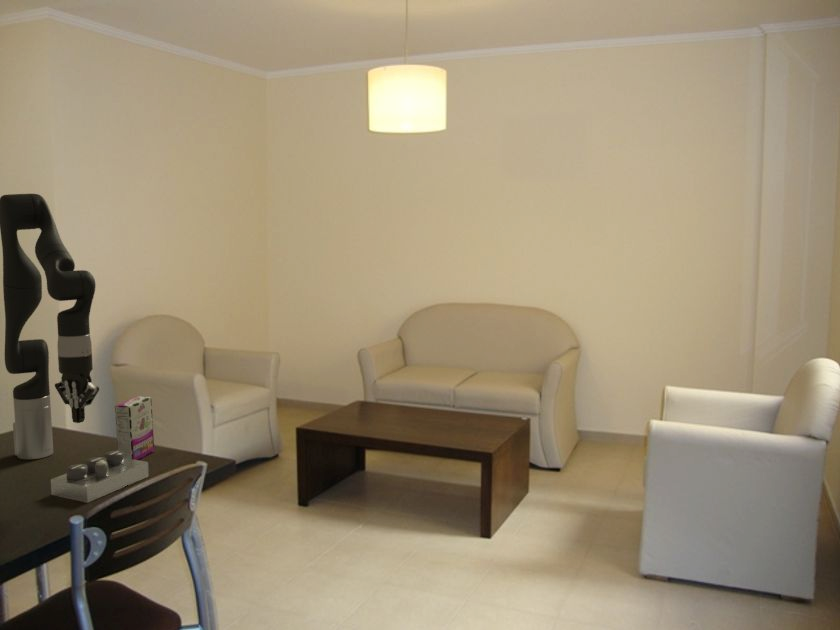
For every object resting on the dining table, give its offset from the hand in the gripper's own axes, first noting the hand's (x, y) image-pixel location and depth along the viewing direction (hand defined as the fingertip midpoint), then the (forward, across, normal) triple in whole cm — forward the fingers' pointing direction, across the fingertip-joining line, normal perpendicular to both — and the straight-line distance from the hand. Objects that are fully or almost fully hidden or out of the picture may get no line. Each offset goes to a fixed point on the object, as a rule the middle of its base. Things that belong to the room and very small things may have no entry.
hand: (78, 421), depth 185 cm
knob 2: (+17, 0, +5) cm, 18 cm away
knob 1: (+17, 0, -1) cm, 17 cm away
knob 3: (+17, 0, +11) cm, 20 cm away
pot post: (+14, +5, +2) cm, 15 cm away
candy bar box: (+18, -8, +26) cm, 33 cm away
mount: (+18, +1, +5) cm, 19 cm away
